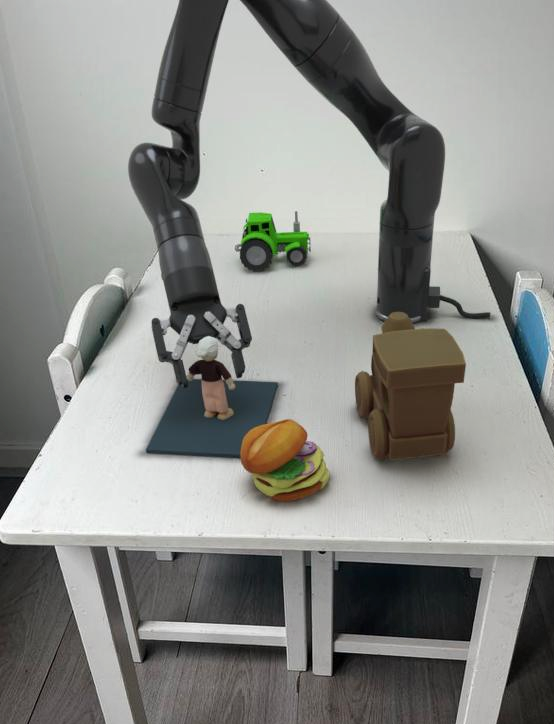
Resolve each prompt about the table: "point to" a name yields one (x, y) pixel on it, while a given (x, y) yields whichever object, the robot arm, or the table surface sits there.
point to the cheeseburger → (283, 461)
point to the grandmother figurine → (212, 379)
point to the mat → (211, 420)
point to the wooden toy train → (410, 390)
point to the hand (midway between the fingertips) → (212, 381)
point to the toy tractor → (271, 242)
